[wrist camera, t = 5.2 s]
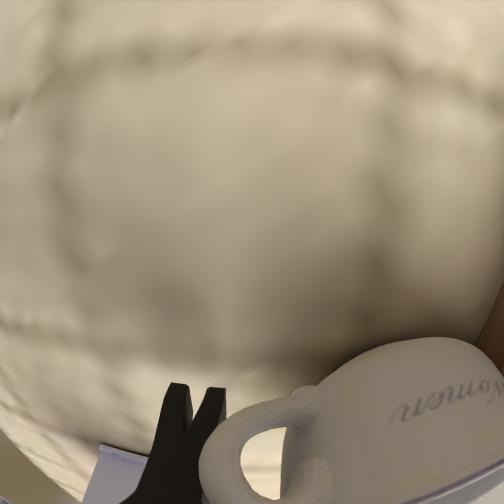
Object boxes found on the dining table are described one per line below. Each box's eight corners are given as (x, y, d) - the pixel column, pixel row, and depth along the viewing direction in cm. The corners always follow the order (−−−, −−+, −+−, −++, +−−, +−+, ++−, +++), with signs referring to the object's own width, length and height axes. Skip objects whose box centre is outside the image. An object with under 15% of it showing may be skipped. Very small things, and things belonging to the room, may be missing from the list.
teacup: (487, 361, 12) (544, 458, 5) (354, 455, 16) (370, 552, 8) (357, 194, 9) (535, 363, 2) (176, 371, 13) (129, 528, 5)
